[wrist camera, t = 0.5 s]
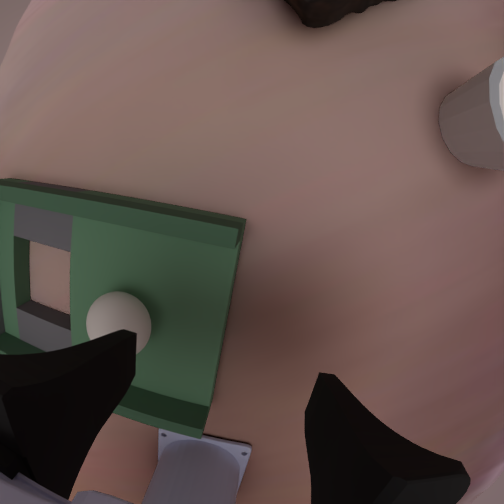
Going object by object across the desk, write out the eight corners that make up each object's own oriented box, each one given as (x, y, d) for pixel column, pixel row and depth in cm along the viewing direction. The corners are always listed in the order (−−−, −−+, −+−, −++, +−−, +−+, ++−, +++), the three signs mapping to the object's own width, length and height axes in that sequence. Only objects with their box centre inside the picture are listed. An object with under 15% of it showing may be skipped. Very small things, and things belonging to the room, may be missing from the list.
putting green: (212, 400, 23) (182, 501, 13) (12, 329, 23) (-57, 376, 13) (254, 178, 19) (234, 172, 9) (14, 148, 20) (-79, 146, 10)
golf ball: (158, 347, 20) (135, 379, 16) (104, 330, 20) (75, 358, 16) (163, 291, 19) (137, 316, 15) (106, 276, 19) (73, 296, 15)
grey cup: (504, 179, 18) (568, 183, 11) (434, 171, 18) (496, 170, 11) (496, 92, 16) (554, 73, 9) (425, 74, 17) (478, 39, 10)
